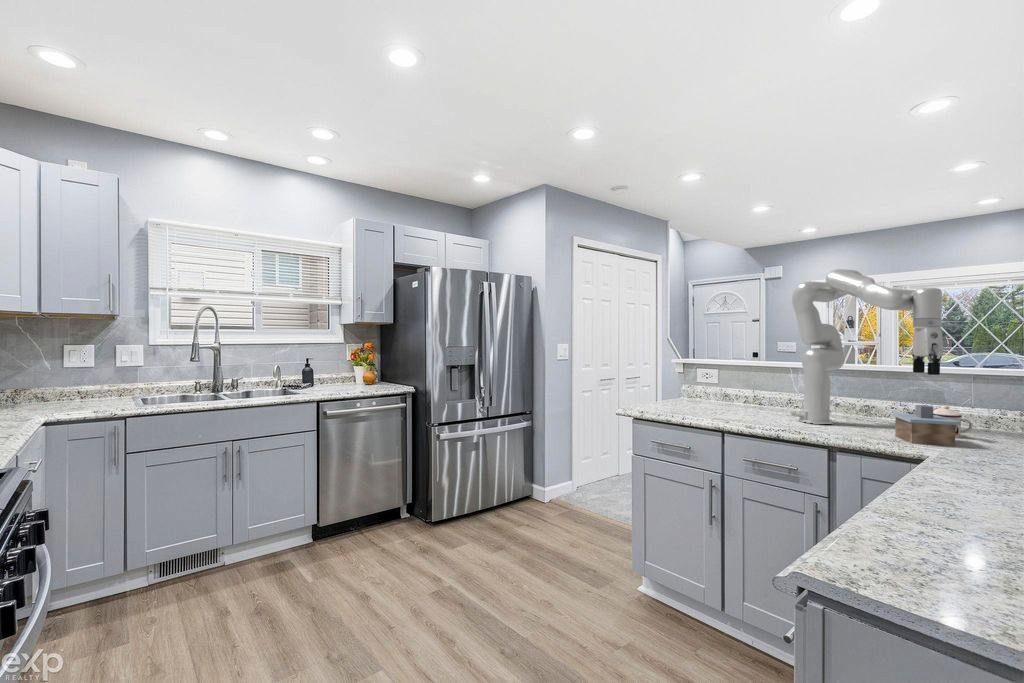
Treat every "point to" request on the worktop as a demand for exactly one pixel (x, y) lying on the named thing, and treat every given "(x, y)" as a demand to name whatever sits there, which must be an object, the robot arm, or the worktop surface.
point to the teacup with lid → (955, 416)
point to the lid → (925, 416)
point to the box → (925, 433)
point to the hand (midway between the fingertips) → (925, 373)
